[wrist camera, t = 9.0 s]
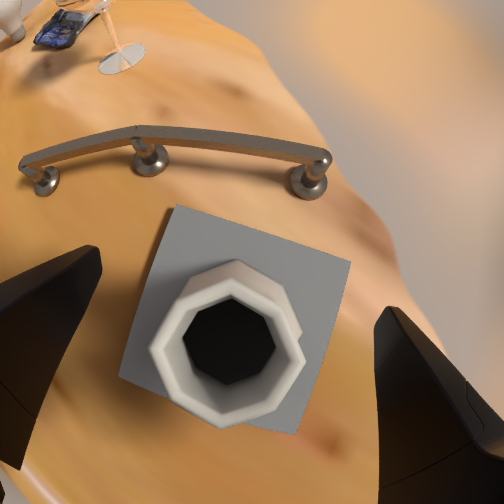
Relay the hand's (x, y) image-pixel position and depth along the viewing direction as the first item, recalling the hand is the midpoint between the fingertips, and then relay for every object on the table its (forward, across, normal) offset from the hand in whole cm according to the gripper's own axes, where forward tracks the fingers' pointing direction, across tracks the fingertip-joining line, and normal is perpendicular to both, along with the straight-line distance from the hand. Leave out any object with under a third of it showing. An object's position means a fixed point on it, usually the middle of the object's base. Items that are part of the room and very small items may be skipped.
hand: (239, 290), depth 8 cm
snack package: (+26, +28, -13) cm, 41 cm away
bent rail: (+11, +7, +1) cm, 13 cm away
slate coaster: (+5, 0, +7) cm, 9 cm away
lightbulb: (+27, +42, -14) cm, 52 cm away
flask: (+4, 0, +7) cm, 8 cm away
